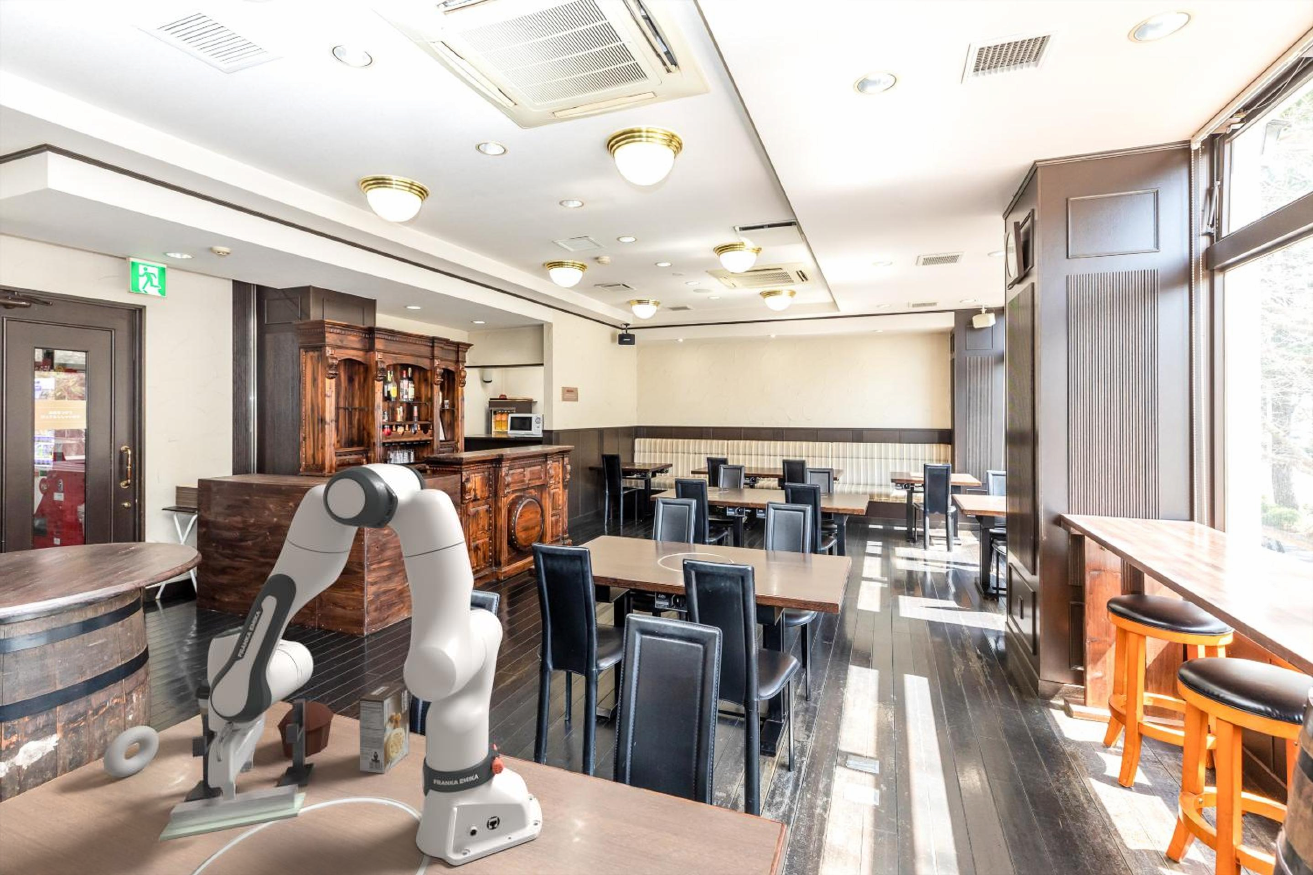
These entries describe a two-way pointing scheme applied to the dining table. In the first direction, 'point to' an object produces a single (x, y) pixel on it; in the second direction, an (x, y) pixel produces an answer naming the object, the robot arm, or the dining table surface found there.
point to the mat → (233, 822)
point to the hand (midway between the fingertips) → (238, 783)
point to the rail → (233, 806)
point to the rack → (294, 735)
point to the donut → (117, 748)
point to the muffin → (309, 728)
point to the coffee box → (384, 727)
